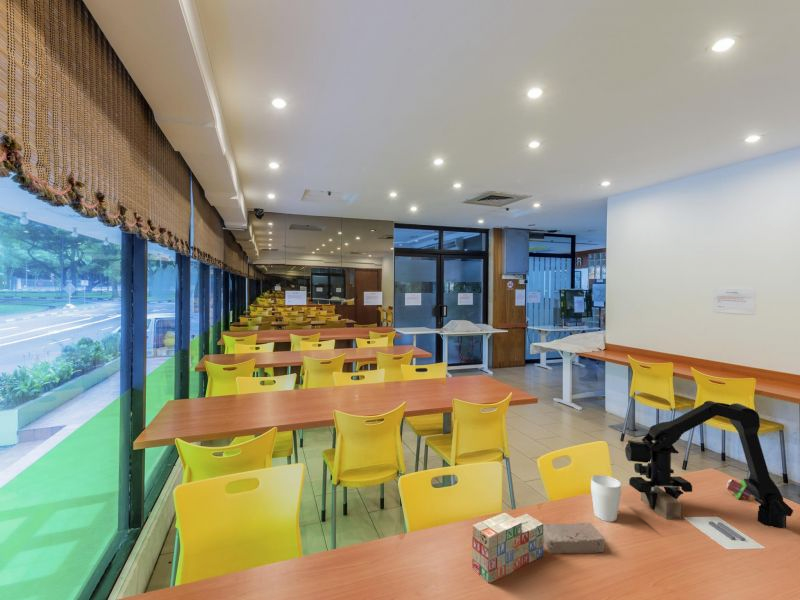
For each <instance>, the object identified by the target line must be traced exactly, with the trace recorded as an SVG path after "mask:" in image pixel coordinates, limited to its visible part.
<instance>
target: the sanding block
mask: <svg viewBox="0 0 800 600" xmlns="http://www.w3.org/2000/svg"><path fill="white" fill-rule="evenodd" d="M654 491H655V492H656V493H658V494H657V499H656V504H655V508H654V510H653V511H654V512H655V513H657V514H659V516H661V517H662V518H663V519H665V520H681V515H682V514H681V513H682V502H681V501H680V500H678V498H677V499H675V498H674V497H672V496H671V495H669V494H668V493H666V492H665V490H663V489H662V488H661V487H655V488H654ZM640 501H642V503H644V504H645V505H647V506H648V507H649V508H650V509H651V507H650V505H649V502H648V499H647V496H646V494H645V493H641V492H640Z"/></svg>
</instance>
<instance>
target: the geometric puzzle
mask: <svg viewBox="0 0 800 600" xmlns="http://www.w3.org/2000/svg"><path fill="white" fill-rule="evenodd" d="M739 481H740V479H736V480H735V479H729V480H728V481H727V482H726V490H728V491H729V492H731V493H732V492H733V493H732V495H733V496H734V497H735V498H736V500H737V501H738V500H740V499H739V498H742V499H743V500H745V499H746V500H749V499H750V498H751V496H752V495H751V494H750V492H748V491H747V490H746V483H745V481H744V478H742V479H741V481H740V482H739Z"/></svg>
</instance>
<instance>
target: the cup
mask: <svg viewBox="0 0 800 600" xmlns="http://www.w3.org/2000/svg"><path fill="white" fill-rule="evenodd" d="M590 479H591V480H590V491H591V499H592V506H593V514H594V516H595V517H596V518H598V519H599V520H602V521H604V522H611V523H612V522H615V521H617V519H618V512H619V507H620V502H621V496H622V490H621V489H622V488H621V487H622V486H621V485H622V484H621V482H620V481H619V480H618V479H616V478H614V477H612V476H608V475H604V474H596V475H593V476H591V477H590Z"/></svg>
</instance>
